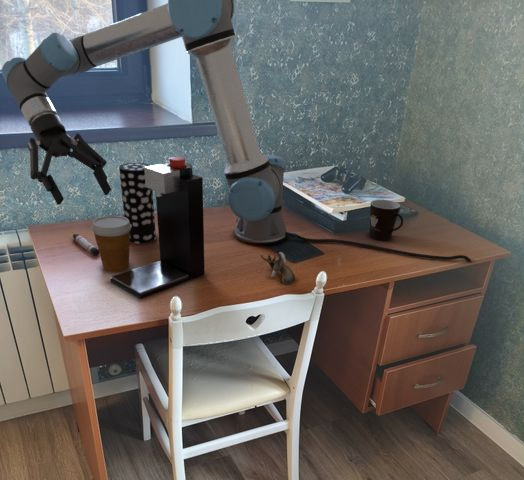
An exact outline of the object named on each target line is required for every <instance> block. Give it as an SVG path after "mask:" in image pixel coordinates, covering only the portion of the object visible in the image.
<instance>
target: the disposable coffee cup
mask: <svg viewBox="0 0 524 480" xmlns="http://www.w3.org/2000/svg"><path fill="white" fill-rule="evenodd" d="M91 224H92V225H91V227H90V229H91V231H92V233H93V234H94V238H95V242H96V246H97V249H98V250H99V256H100V260H101V264H102V268H103V270H104V271H106V272H110V273H122V272H125V271H126V270H128V269H129V267H130V245H131V244H130V243H131V242H130V230H131V227H132V226H131V224H130V222H129V220H128V219H127V218H125V217H124V216H121V215H103V216H100V217H97V218H95V219H93V221H92V223H91Z"/></svg>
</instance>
